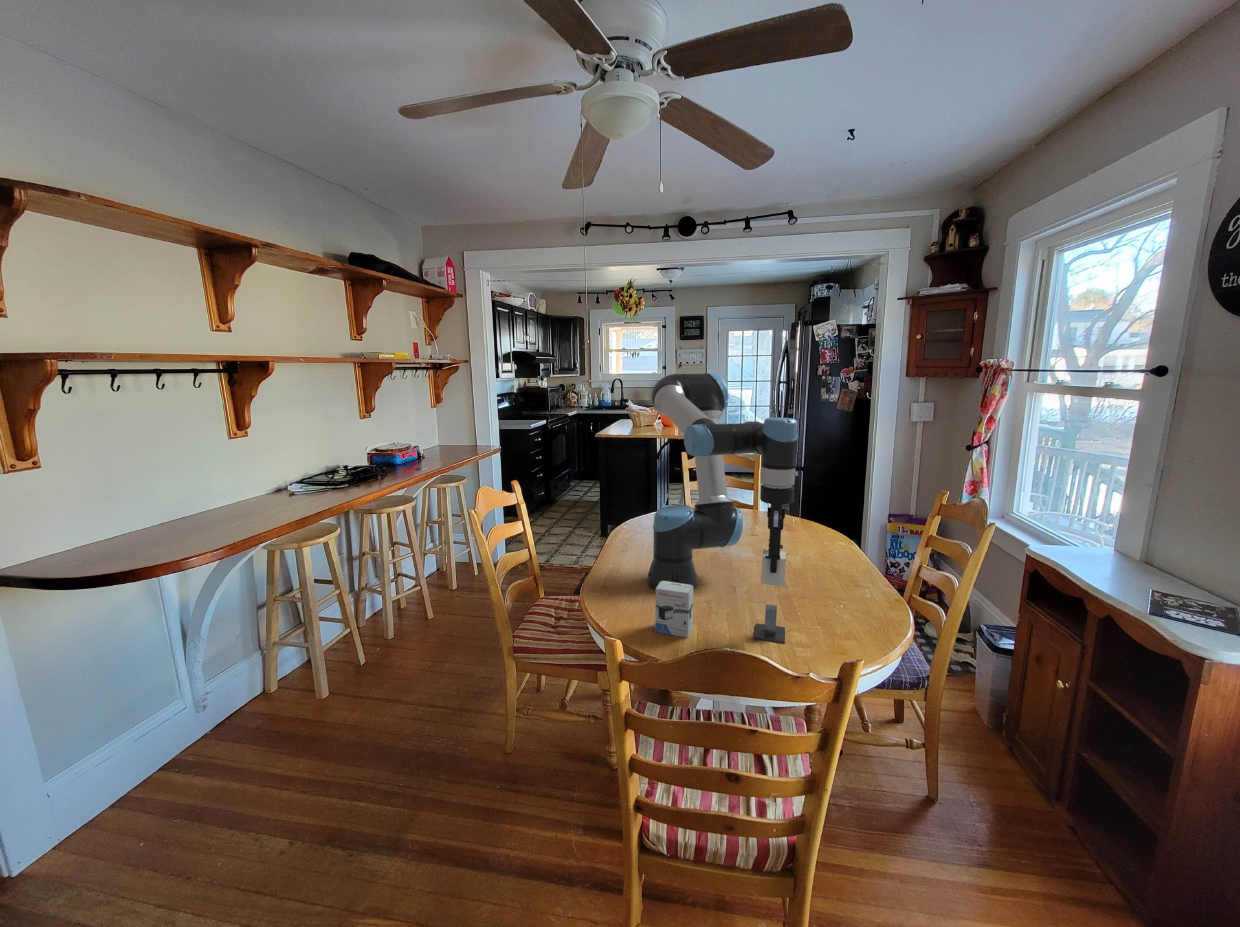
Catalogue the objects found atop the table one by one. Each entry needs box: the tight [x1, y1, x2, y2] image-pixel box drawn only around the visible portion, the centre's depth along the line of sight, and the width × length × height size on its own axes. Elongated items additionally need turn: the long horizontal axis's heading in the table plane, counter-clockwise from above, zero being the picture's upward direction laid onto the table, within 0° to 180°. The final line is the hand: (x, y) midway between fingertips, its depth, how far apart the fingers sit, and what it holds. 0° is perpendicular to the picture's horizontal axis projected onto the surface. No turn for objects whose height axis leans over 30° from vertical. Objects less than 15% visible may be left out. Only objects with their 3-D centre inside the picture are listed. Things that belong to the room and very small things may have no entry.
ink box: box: [654, 581, 694, 638], centre depth 125 cm, size 8×5×12 cm, turn 69°
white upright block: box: [760, 549, 787, 587], centre depth 121 cm, size 5×5×7 cm
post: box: [753, 603, 786, 644], centre depth 124 cm, size 7×7×7 cm
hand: (772, 579), depth 122 cm, fingers closed on white upright block, 5 cm apart
